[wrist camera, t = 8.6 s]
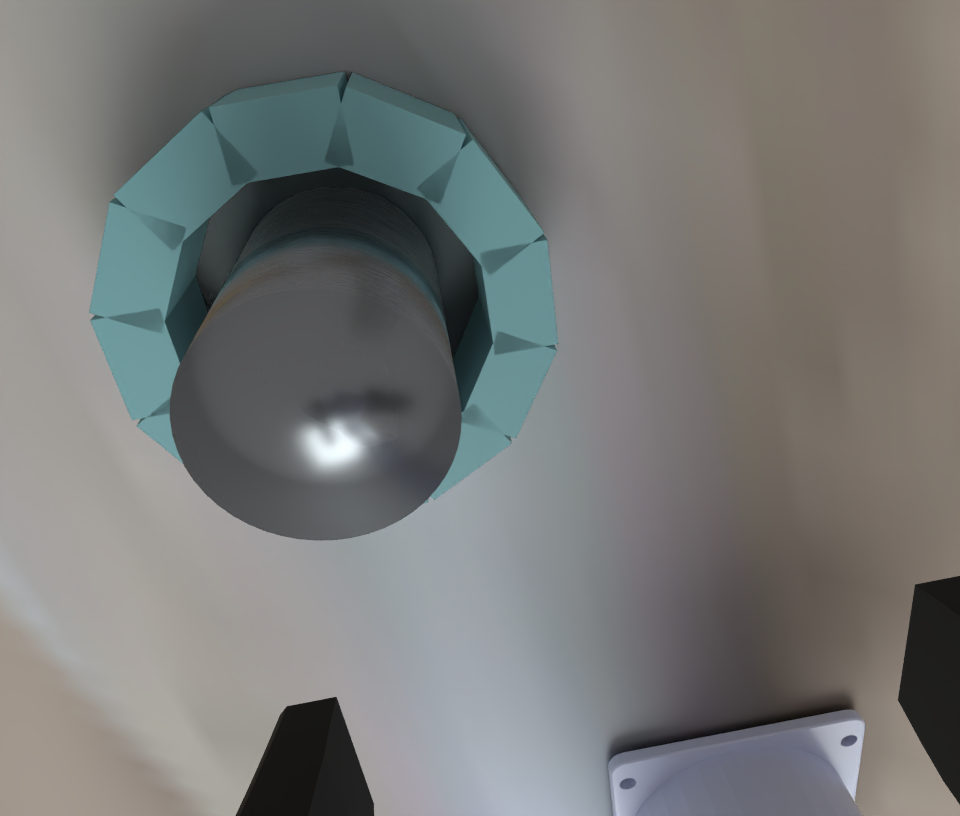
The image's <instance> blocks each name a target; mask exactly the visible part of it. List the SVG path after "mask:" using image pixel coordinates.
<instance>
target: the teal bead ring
mask: <svg viewBox="0 0 960 816" xmlns="http://www.w3.org/2000/svg"><path fill="white" fill-rule="evenodd" d="M336 167H340V168H343V169H346V170H348V171H351V172H354V173H357V174H359V175H362V176H365V177H367V178H370V179H373V180H375V181H378V182H381V183H384V184H386V185H389V186H392V187H394V188H397V189H400V190H402V191H405V192H408V193H411V194H413V195H416V196H419V197H421V198H424V199H426V200H427V201H428V202H429V203H430V204H431V206H432V207H433V208H434V209H435V210H436V212H437V213H438V214H439V215H440V216H441V218H442V219H443V220H444V221H445V222H446V224H447V225H448V226H449V227H450V228H451V230H452V231H453V232H454V233H455V234H456V236H457V237H458V238H459V239H460V240H461V242H462V243H463V244H464V245H465V246H466V248H467V249H468V250H469V251H470V252H471V254H472V255H473V261H474V268H475V274H476V281H477V287H478V294H479V298H478V300H477V302H476V305H475V307H474V310H473V312H472V315H471V317H470V320H469V322H468V324H467V327H466V329H465V332H464V334H463V337H462V339H461V342H460V344H459V346H458V349H457V351H456V354H455V356H454V358H453V364H454V370H455V375H456V381H457V386H458V392H459V397H460V405H461V414H462V421H461V435H460V440H459V445H458V449H457V452H456V455H455V458H454V461H453V463H452V465H451V467H450V469H449V471H448V473H447V475H446V477H445V478H444V479H443V481H442V482H441V484H440V485H439V487H438V488H437V489H436V490H435V492H434V493H433V494H432V495H431V497H432V498H433V499H434V500H435V499H436V498H438V497H439V496H440V495H442V494H443V493H444V492H446V491H447V490H448V489H450V488H451V487H453V486H454V485H455V484H457V483H458V482H459V481H461V480H462V479H464V478H465V477H466V476H468V475H469V474H470V473H472V472H473V471H474V470H476V469H477V468H479V467H480V466H481V465H483V464H484V463H485V462H487V461H488V460H490V459H491V458H492V457H494V456H495V455H496V454H498V453H499V452H500V451H502V450H503V449H505V448H506V447H507V446H509V445H510V444H511V439H510V437H513V438H516V437H517V435H518V433H519V431H520V429H521V426H522V424H523V422H524V420H525V418H526V416H527V414H528V411H529V409H530V407H531V405H532V403H533V401H534V399H535V397H536V394H537V392H538V390H539V388H540V386H541V384H542V382H543V379H544V377H545V375H546V373H547V371H548V369H549V367H550V365H551V362H552V360H553V358H554V356H555V354H556V352H557V349H556V347H555V345H554V344H558V337H557V327H556V318H555V308H554V299H553V289H552V280H551V271H550V261H549V252H548V242H547V239H546V237H545V236H544V232H543V230H542V228H541V227H540V225H539V224H538V222H537V221H536V219H535V218H534V216H533V215H532V213H531V212H530V210H529V209H528V207H527V206H526V204H525V203H524V201H523V200H522V198H521V197H520V196H519V194H518V193H517V192H516V191H515V189H514V188H513V187H512V185H511V184H510V183H509V181H508V180H507V179H506V177H505V176H504V175H503V174H502V172H501V171H500V170H499V168H498V167H497V166H496V164H495V163H494V162H493V160H492V159H491V158H490V157H489V155H488V154H487V153H486V151H485V150H484V149H483V147H482V146H481V145H480V144H479V142H478V141H477V140H476V138H475V137H474V136H473V134H472V133H471V132H470V130H469V129H468V128H467V127H466V125H465V124H464V123H463V121H462V120H461V119H460V118H459V119H458V120H457V118H456V116H455V114H454V113H452V112H449V111H447V110H444V109H442V108H440V107H437V106H435V105H432V104H430V103H427V102H425V101H422V100H420V99H417V98H415V97H412V96H410V95H407V94H405V93H402V92H400V91H398V90H395V89H393V88H390V87H388V86H385V85H383V84H380V83H378V82H375V81H373V80H370V79H368V78H365V77H363V76H360V75H358V74H356V73H353V72H352V74H351V76H350V79H349V81H348V83H347V80H346V76H345V71H343V72H337V73H331V74H325V75H319V76H314V77H308V78H302V79H296V80H290V81H284V82H278V83H272V84H266V85H260V86H254V87H249V88H243V89H237V90H235V91H233V92H232V93H229V94H227V95H226V96H224V97H222V98H221V99H219V100H218V101H216V102H215V103H213V104H212V105H210V106H208V107H207V108H205V109H204V110H202V111H201V112H200V113H199V114H198V115H197V116H196V117H194V118H193V119H192V120H191V121H190V122H189V123H188V124H187V125H186V126H185V127H184V128H183V129H182V130H181V131H180V132H179V133H178V134H177V135H176V136H175V137H174V138H173V139H171V140H170V141H169V142H168V143H167V144H166V145H165V146H164V147H163V148H162V149H161V150H160V151H159V152H158V153H157V154H156V155H155V156H154V157H153V158H152V159H151V160H150V161H148V162H147V163H146V164H145V165H144V166H143V167H142V168H141V169H140V170H139V171H138V172H137V173H136V174H135V175H134V176H133V177H132V178H131V179H130V180H129V181H128V182H127V183H125V184H124V185H123V186H122V187H121V188H120V189H119V190H118V191H117V192H116V193H115V194H114V196H115V197H116V198H114V199H113V200H112V201H110V202H109V208H108V213H107V219H106V224H105V230H104V235H103V240H102V246H101V251H100V257H99V262H98V268H97V273H96V279H95V284H94V289H93V295H92V300H91V306H90V311H89V313H92V314H95V316H94V317H93V318H92V319H91V320H90V321H91V324H92V326H93V328H94V331H95V333H96V336H97V338H98V340H99V343H100V345H101V347H102V350H103V352H104V355H105V357H106V359H107V362H108V364H109V367H110V369H111V371H112V374H113V376H114V378H115V381H116V383H117V386H118V388H119V390H120V393H121V395H122V397H123V400H124V402H125V405H126V407H127V409H128V412H129V414H130V416H131V419H132V420H136V419H140V421H139V423H138V425H137V427H138V428H140V429H141V430H142V431H143V432H145V433H146V434H147V435H148V436H150V437H151V438H152V439H153V440H155V441H156V442H157V443H158V444H160V445H161V446H162V447H163V448H165V449H166V450H167V451H168V452H169V453H171V454H172V455H173V456H174V457H176V458H177V459H178V460H179V461H181V462H182V460H181V458H180V456H179V454H178V451H177V448H176V445H175V442H174V439H173V436H172V430H171V423H170V397H171V391H172V385H173V381H174V378H175V375H176V372H177V369H178V367H179V365H180V363H181V361H182V359H183V357H184V355H185V353H186V352H187V350H188V348H189V346H190V344H191V343H192V341H193V339H194V337H195V335H196V334H197V332H198V330H199V328H200V326H201V325H202V323H203V321H204V319H205V317H206V316H207V314H208V311H207V308H206V305H205V302H204V299H203V296H202V293H201V290H200V288H199V285H198V282H197V279H196V276H195V275H196V271H197V267H198V263H199V259H200V254H201V250H202V246H203V242H204V238H205V234H206V230H207V225H208V221H209V217H210V216H212V215H213V214H214V213H215V212H216V211H217V210H218V209H219V208H220V207H221V206H223V205H224V204H225V203H226V202H227V201H228V200H229V199H230V198H231V197H232V196H233V195H235V194H236V193H237V192H238V191H239V190H240V189H241V188H242V187H243V186H244V185H246V184H247V183H249V182H255V181H261V180H267V179H272V178H278V177H284V176H290V175H296V174H302V173H307V172H313V171H319V170H325V169H331V168H336ZM182 463H183V462H182ZM424 503H428V499H427V500H426V501H425V502H424Z"/></svg>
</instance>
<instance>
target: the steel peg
mask: <svg viewBox="0 0 960 816" xmlns="http://www.w3.org/2000/svg"><path fill="white" fill-rule="evenodd" d="M461 421H462V414H461V405H460V397H459V392H458V386H457V381H456V375H455V370H454V364H453V359H452V353H451V348H450V342H449V337H448V331H447V326H446V320H445V315H444V309H443V304H442V298H441V293H440V287H439V282H438V276H437V271H436V266H435V262H434V258H433V254H432V252H431V249H430V247H429V244H428V243H427V241H426V239H425V237H424V235H423V234H422V232H421V231H420V230H419V228H418V227H417V226H416V224H415V223H414V222H413V221H412V220H411V219H410V218H409V217H408V216H407V215H406V214H405V213H404V212H403V211H402V210H400V209H399V208H398V207H397V206H395V205H394V204H392V203H391V202H389V201H387V200H386V199H384V198H382V197H380V196H377V195H375V194H373V193H370V192H367V191H363V190H360V189H355V188H349V187H335V186H330V187H320V188H315V189H310V190H306V191H303V192H301V193H298V194H295V195H293V196H291V197H289V198H287V199H286V200H284V201H282V202H280V203H279V204H278V205H277V206H275V207H274V208H273V209H271V210H270V211H269V212H268V213H267V214H266V215H265V216H264V217H263V218H262V220H261V221H260V222H259V224H258V225H257V226H256V228H255V229H254V231H253V233H252V235H251V236H250V238H249V240H248V242H247V244H246V245H245V247H244V249H243V251H242V253H241V254H240V256H239V258H238V260H237V262H236V263H235V265H234V267H233V269H232V271H231V272H230V274H229V276H228V278H227V280H226V281H225V283H224V285H223V287H222V289H221V290H220V292H219V294H218V296H217V298H216V299H215V301H214V303H213V305H212V307H211V308H210V310H209V312H208V314H207V316H206V317H205V319H204V321H203V323H202V325H201V326H200V328H199V330H198V332H197V334H196V335H195V337H194V339H193V341H192V343H191V344H190V346H189V348H188V350H187V352H186V353H185V355H184V357H183V359H182V361H181V363H180V365H179V367H178V369H177V372H176V375H175V378H174V381H173V385H172V391H171V397H170V423H171V430H172V436H173V439H174V442H175V445H176V448H177V451H178V454H179V456H180V458H181V460H182V462H183V464H184V466H185V468H186V469H187V471H188V472H189V474H190V475H191V477H192V478H193V480H194V481H195V482H196V483H197V485H198V486H199V487H200V488H201V489H202V490H203V491H204V493H205V494H206V495H207V496H209V497H210V498H211V499H212V500H213V501H214V502H215V503H216V504H217V505H219V506H220V507H221V508H223V509H224V510H226V511H227V512H228V513H230V514H231V515H233V516H235V517H236V518H238V519H240V520H242V521H244V522H245V523H247V524H249V525H252V526H254V527H257V528H259V529H261V530H264V531H267V532H270V533H274V534H277V535H281V536H285V537H291V538H296V539H305V540H338V539H345V538H352V537H356V536H361V535H365V534H369V533H371V532H374V531H377V530H380V529H383V528H385V527H387V526H389V525H391V524H393V523H395V522H397V521H399V520H401V519H402V518H404V517H405V516H407V515H409V514H410V513H412V512H413V511H414V510H416V509H417V508H418V507H419V506H420V505H422V504H423V503H424V502H425V501H426V500H427V499H428V498H429V497H430V496H431V495H432V494H433V493H434V492H435V490H436V489H437V488H438V487H439V485H440V484H441V482H442V481H443V479H444V478H445V477H446V475H447V473H448V471H449V469H450V467H451V465H452V463H453V461H454V458H455V455H456V452H457V449H458V445H459V440H460V435H461Z"/></svg>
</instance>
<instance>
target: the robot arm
mask: <svg viewBox="0 0 960 816" xmlns="http://www.w3.org/2000/svg"><path fill="white" fill-rule="evenodd" d="M898 701H899V703H900V705H901V706H902V708H903V710H904V712H905V714H906V716H907V717H908V719H909V721H910V723H911V725H912V727H913V728H914V730H915V732H916V734H917V736H918V738H919V740H920V741H921V743H922V745H923V747H924V748H925V750H926V752H927V754H928V755H929V757H930V759H931V760H932V762H933V764H934V766H935V767H936V769H937V771H938V772H939V774H940V776H941V778H942V779H943V781H944V782H945V784H946V785H947V787H948V788H949V790H950V791H951V793H952V794H953V795H954V797H955V798H956V800H957V801H958V803H959V804H960V576H957V577H952V578H947V579H942V580H937V581H931V582H926V583H921V584H916V585H915V589H914V596H913V603H912V610H911V616H910V623H909V630H908V636H907V643H906V650H905V657H904V663H903V670H902V677H901V684H900V690H899V697H898ZM864 731H865V722H864V720H863V719H862V717H861V716H860V714H859V713H858V712H857V711H855V710H851V709H849V710H841V711H836V712H830V713H825V714H820V715H815V716H810V717H804V718H799V719H794V720H789V721H784V722H779V723H773V724H768V725H763V726H758V727H753V728H747V729H742V730H737V731H732V732H727V733H722V734H716V735H711V736H706V737H701V738H696V739H690V740H685V741H680V742H675V743H670V744H664V745H659V746H654V747H649V748H644V749H639V750H633V751H628V752H623V753H620V754H617V755H616V756H614V757H613V758H612V759H611V760H610V761H609V764H608V771H609V781H610V791H611V800H612V810H613V816H863V815H862V814H861V812H860V810H859V808H858V807H857V805H856V803H855V795H856V788H857V781H858V774H859V767H860V760H861V753H862V745H863V738H864ZM236 816H374V803H373V800H372V797H371V794H370V792H369V789H368V786H367V783H366V780H365V777H364V774H363V772H362V769H361V766H360V763H359V760H358V757H357V754H356V752H355V749H354V746H353V743H352V740H351V737H350V735H349V732H348V729H347V726H346V723H345V720H344V717H343V715H342V712H341V709H340V706H339V703H338V700H337V697H333V698H328V699H323V700H318V701H313V702H308V703H302V704H297V705H292V706H287V707H286V708H285V709H284V711H283V712H282V713H281V714H280V716H279V719H278V721H277V724H276V726H275V728H274V731H273V733H272V736H271V738H270V740H269V743H268V745H267V747H266V750H265V752H264V754H263V757H262V759H261V761H260V763H259V766H258V768H257V770H256V773H255V775H254V777H253V779H252V781H251V784H250V786H249V788H248V790H247V792H246V795H245V797H244V799H243V801H242V803H241V805H240V808H239V810H238V812H237V814H236Z"/></svg>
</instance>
